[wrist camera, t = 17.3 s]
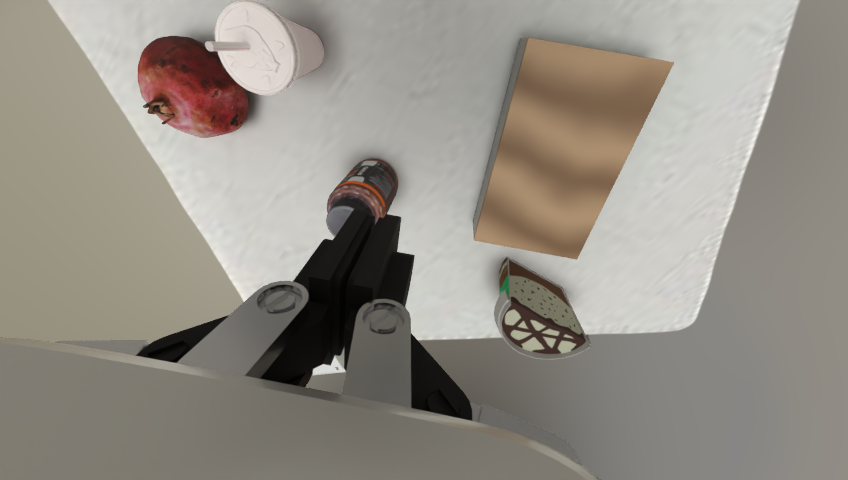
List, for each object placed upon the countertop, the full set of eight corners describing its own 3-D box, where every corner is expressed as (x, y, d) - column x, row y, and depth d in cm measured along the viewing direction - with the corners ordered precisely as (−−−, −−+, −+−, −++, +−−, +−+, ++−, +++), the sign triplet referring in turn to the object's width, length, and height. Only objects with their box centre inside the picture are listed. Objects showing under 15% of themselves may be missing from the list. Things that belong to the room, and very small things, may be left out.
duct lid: (527, 38, 27) (528, 37, 26) (669, 62, 27) (674, 62, 26) (473, 236, 38) (473, 240, 37) (574, 255, 37) (576, 259, 37)
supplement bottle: (360, 148, 38) (325, 184, 28) (406, 170, 38) (387, 212, 29) (345, 190, 41) (309, 235, 31) (388, 210, 42) (365, 260, 32)
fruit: (216, 16, 32) (127, 6, 24) (279, 105, 36) (222, 123, 28) (162, 66, 35) (67, 72, 27) (226, 143, 39) (160, 170, 31)
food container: (472, 281, 46) (474, 334, 38) (498, 251, 43) (506, 302, 34) (541, 317, 48) (557, 375, 40) (570, 291, 45) (594, 348, 37)
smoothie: (290, -5, 31) (179, -37, 19) (348, 40, 32) (279, 38, 20) (267, 58, 34) (160, 65, 22) (321, 97, 35) (248, 123, 23)
